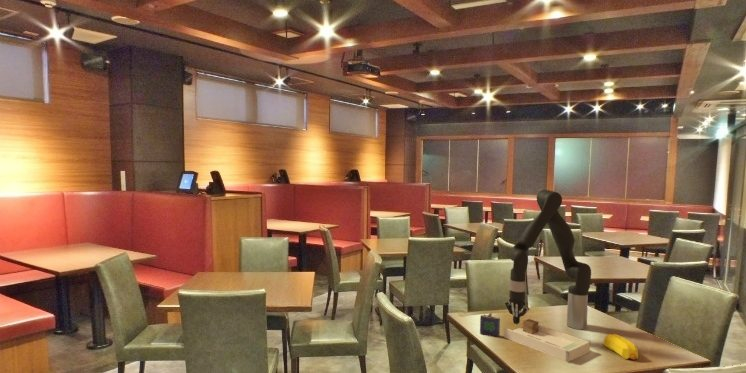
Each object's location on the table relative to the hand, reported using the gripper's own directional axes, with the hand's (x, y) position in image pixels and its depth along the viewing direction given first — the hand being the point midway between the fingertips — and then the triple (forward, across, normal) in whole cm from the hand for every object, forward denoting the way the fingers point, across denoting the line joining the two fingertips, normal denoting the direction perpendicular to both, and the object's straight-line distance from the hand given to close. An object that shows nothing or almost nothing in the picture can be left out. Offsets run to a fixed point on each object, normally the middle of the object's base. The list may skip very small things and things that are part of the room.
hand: (516, 323), depth 219 cm
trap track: (+4, -18, +4) cm, 19 cm away
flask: (+4, +4, +16) cm, 16 cm away
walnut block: (+2, -8, 0) cm, 8 cm away
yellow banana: (+4, -42, -17) cm, 45 cm away
